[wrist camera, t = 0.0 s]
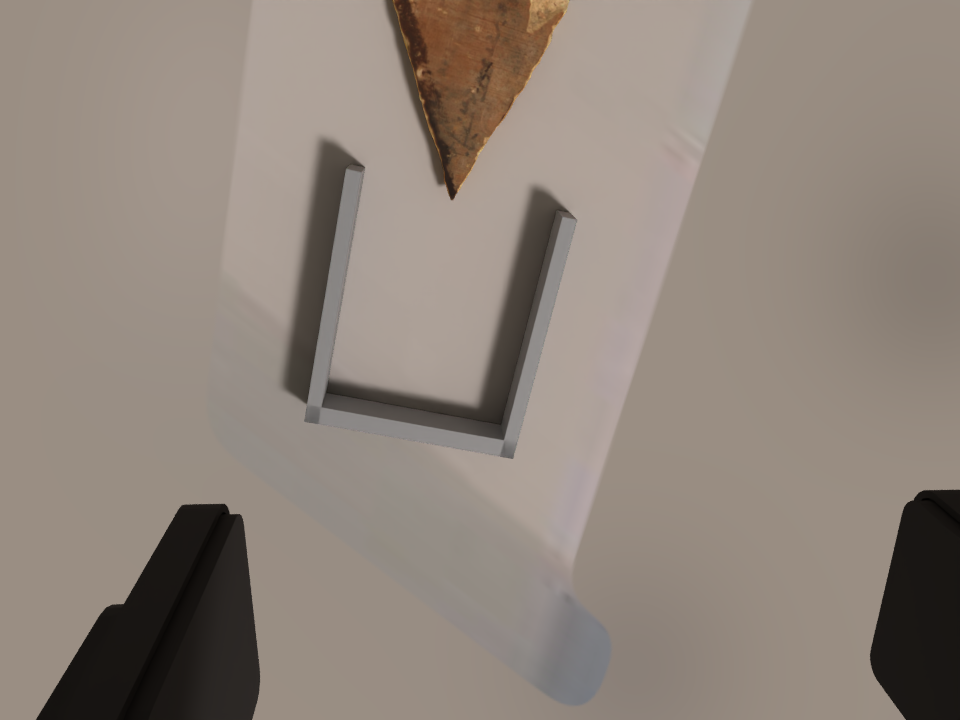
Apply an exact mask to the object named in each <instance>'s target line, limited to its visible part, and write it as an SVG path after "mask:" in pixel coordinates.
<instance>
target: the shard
mask: <svg viewBox="0 0 960 720" xmlns="http://www.w3.org/2000/svg"><path fill="white" fill-rule="evenodd" d="M392 1H393V3H394V8H395V10H396V13H397V16H398V21H399V25H400V30H401V33H402V36H403V39H404V43H405V46H406V49H407V52H408V55H409V59H410V62H411V65H412V68H413V73H414V76H415V79H416V84H417V88H418V91H419V99H420V100H421V102H422V106H423V110H424V114H425V117H426V121H427V124H428V128H429V131H430V133H431V135H432V137H433V140H434V143H435V145H436V148H437V150H438V153H439V156H440V159H441V162H442V167H443V170H444V182H445V184H446V187H447V191H448V194H449V196H450V199H451V200H453V199H454V198H455V195H456V194H457V192H458V191H459V190H460V188H461V186H462V184H463V182H464V181H465V179H466V178H467V176H468V175H469V173H470V172H471V170H472V168H473V166H474V164H475V162H476V159H477V157H478V155H479V153H480V152H481V151H482V150H483V147H484V146H485V144H486V143H487V141H488V139H489V138H490V136H491V135H492V133H493V132H494V130H495V129H496V127H497V126H499V125H500V123H501V122H502V121H503V119H504V118H505V117H506V115H507V113H508V112H509V110H510V109H511V107H512V105H513V103H514V101H515V99H516V98H517V96H518V95H519V94H520V93H521V92H522V90H523V89H524V87H525V86H526V84H527V82H528V80H529V79H530V77H531V74H532V72H533V70H534V69H535V67H536V66H537V65H538V64H539V63H540V60H541V57H542V56H543V54H544V52H545V50H546V49H547V47H548V46H549V44H550V42H551V39H552V33H553V30H554V29H555V27H556V26H557V24H558V23H559V21H560V20H561V18H562V17H563V16H564V14H565V13H566V11H567V7H568V3H569V1H570V0H392Z"/></svg>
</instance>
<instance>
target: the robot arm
mask: <svg viewBox="0 0 960 720" xmlns="http://www.w3.org/2000/svg"><path fill="white" fill-rule="evenodd" d="M870 661H871V666H872V670H873V673H874V675H875V677H876V679H877V681H878V682H879V683H880V685H881V686H882V687H883V689H884V690H885V692H886V693H887V694H888V696H889V697H890V698H891V700H892V701H893V703H894V704H895V705H896V707H897V708H898V709H899V711H900V712H901V713H902V715H903V716H904V718H905V719H906V720H960V490H924V491H922V492H920V493H918V494H917V496H916V497H915V498H914V501H910V502H908V503H907V504H906V505H905V507H904V510H903V513H902V517H901V522H900V526H899V530H898V535H897V539H896V543H895V547H894V552H893V556H892V560H891V565H890V569H889V573H888V578H887V582H886V586H885V591H884V595H883V599H882V604H881V608H880V612H879V617H878V621H877V625H876V630H875V634H874V638H873V643H872V647H871V653H870ZM259 685H260V668H259V659H258V650H257V641H256V633H255V624H254V613H253V604H252V595H251V586H250V577H249V567H248V558H247V549H246V540H245V531H244V524H243V519H242V516H241V515H240V514H229V510H228V507H227V506H226V505H225V504H198V505H197V504H193V505H182V506H181V507H180V508H179V510H178V511H177V513H176V515H175V517H174V518H173V520H172V522H171V524H170V525H169V527H168V529H167V530H166V532H165V534H164V536H163V537H162V539H161V541H160V543H159V544H158V546H157V548H156V550H155V551H154V553H153V555H152V556H151V558H150V560H149V561H148V563H147V565H146V567H145V568H144V570H143V572H142V574H141V575H140V577H139V579H138V581H137V583H136V584H135V586H134V588H133V589H132V591H131V593H130V595H129V596H128V598H127V600H126V601H125V603H124V604H117V605H111V606H109V607H106V608H105V610H104V611H103V612H102V613H101V615H100V616H99V617H98V619H97V621H96V622H95V624H94V626H93V627H92V629H91V631H90V632H89V634H88V635H87V637H86V639H85V640H84V642H83V644H82V645H81V647H80V648H79V650H78V652H77V654H76V655H75V657H74V658H73V660H72V662H71V663H70V665H69V666H68V668H67V670H66V671H65V673H64V675H63V676H62V678H61V680H60V681H59V683H58V685H57V686H56V688H55V689H54V691H53V693H52V694H51V696H50V698H49V699H48V701H47V703H46V704H45V706H44V708H43V709H42V711H41V712H40V714H39V716H38V717H37V719H36V720H252V718H253V714H254V711H255V707H256V704H257V700H258V695H259Z"/></svg>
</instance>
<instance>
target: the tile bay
mask: <svg viewBox="0 0 960 720" xmlns="http://www.w3.org/2000/svg"><path fill="white" fill-rule="evenodd" d="M364 171H365V167H361V166H356V165H352V164H350V165H349V166H348V167H347V168H346V172H345V178H344V184H343V190H342V196H341V202H340V208H339V215H338V221H337V227H336V233H335V239H334V245H333V251H332V257H331V263H330V269H329V275H328V281H327V287H326V293H325V299H324V305H323V311H322V317H321V324H320V330H319V336H318V342H317V348H316V354H315V360H314V366H313V372H312V378H311V384H310V390H309V396H308V402H307V408H306V414H305V420H304V422H309V423H314V424H320V425H326V426H331V427H337V428H342V429H348V430H354V431H359V432H365V433H371V434H376V435H382V436H387V437H393V438H399V439H404V440H410V441H416V442H421V443H427V444H432V445H438V446H444V447H449V448H455V449H460V450H466V451H472V452H477V453H483V454H489V455H494V456H500V457H505V458H511V459H513V457H514V453H515V450H516V446H517V442H518V438H519V435H520V431H521V427H522V424H523V420H524V416H525V412H526V409H527V405H528V401H529V398H530V394H531V390H532V386H533V383H534V379H535V375H536V371H537V368H538V364H539V360H540V357H541V353H542V349H543V345H544V342H545V338H546V334H547V331H548V327H549V323H550V319H551V316H552V312H553V308H554V304H555V301H556V297H557V293H558V290H559V286H560V282H561V278H562V275H563V271H564V267H565V264H566V260H567V256H568V252H569V249H570V245H571V241H572V237H573V234H574V230H575V226H576V223H577V219H576V218H575V217H574V216H573V215H572V214H571V213H568V212H563V211H559V210H557V211H556V214H555V218H554V222H553V226H552V230H551V234H550V238H549V241H548V245H547V249H546V253H545V257H544V261H543V265H542V269H541V272H540V276H539V280H538V284H537V288H536V292H535V296H534V299H533V303H532V307H531V311H530V315H529V319H528V323H527V326H526V330H525V334H524V338H523V342H522V346H521V350H520V354H519V357H518V361H517V365H516V369H515V373H514V377H513V381H512V384H511V388H510V392H509V396H508V400H507V404H506V408H505V412H504V415H503V419H502V423H501V425H499V424H494V423H488V422H483V421H477V420H472V419H466V418H461V417H455V416H450V415H445V414H439V413H434V412H428V411H423V410H417V409H412V408H406V407H401V406H395V405H390V404H385V403H379V402H374V401H368V400H363V399H357V398H352V397H346V396H341V395H335V394H330V393H326V390H327V385H328V379H329V373H330V367H331V361H332V356H333V350H334V344H335V338H336V333H337V327H338V321H339V315H340V309H341V304H342V298H343V292H344V286H345V281H346V275H347V269H348V263H349V257H350V252H351V246H352V240H353V234H354V229H355V223H356V217H357V211H358V205H359V200H360V194H361V188H362V182H363V177H364Z"/></svg>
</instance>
